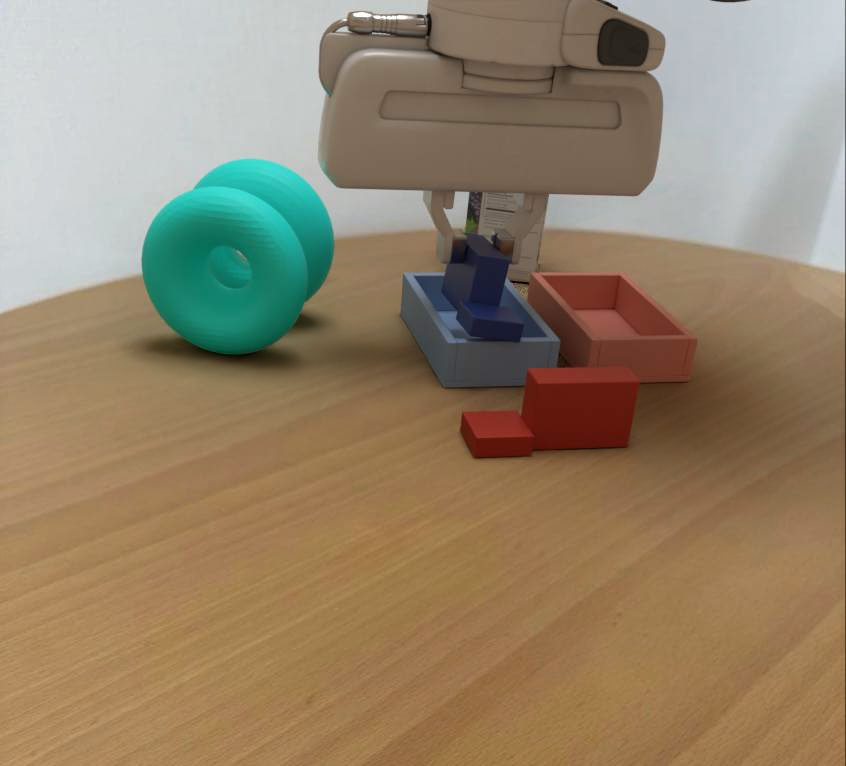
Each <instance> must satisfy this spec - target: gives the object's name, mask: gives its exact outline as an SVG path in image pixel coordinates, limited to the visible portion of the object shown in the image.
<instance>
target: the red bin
mask: <svg viewBox="0 0 846 766" xmlns="http://www.w3.org/2000/svg"><path fill="white" fill-rule="evenodd" d="M526 301H527V302H528V303H529V304H530V306H531V307H532V308H533V309H534V310H535V311H536V313H537V314H538V315H539V316H540V317H541V318H542V320H543V321H544V322H545V323H546V324H547V325H548V327H549V328H550V329H551V330H552V331H553V333H554V334H555V335H556V336H557V337H558V338H559V340H560V348H559V354H560V356H561V357H562V358H563V360H564V361H565V362H566V363H567V364H568V365H569V367H570V368H575V367H628V368H629V369H630V371H631V372H632V373H633V374H634V375H635V376H636V377H637V378H638V379H639V381H640V384H643V383H645V384H646V383H679V382H680V383H682V382H690V380H691V374H692V368H693V365H694V359H695V355H696V351H697V346H698V341H699V338H698V337H697V336H696V335H695V334H694V333H692V332H691V330H689V329H688V328H687V327H686V326H685V325H684V324H683V323H682V322H680V321H679V320H678V319H677V318H676V317H675V316H673V314H672V313H671V312H670V311H668V310H667V309H666V308H665V307H664V306H662V304H661V303H659V301H657V300H656V299H655V298H654V297H653V296H652V295H651V294H649V292H647V291H646V290H645V289H644V288H643V287H641V285H639V284H638V283H637V282H636V281H635V280H633V278H632V277H630V276H629V275H628V274H627V273H626V272H620V271H619V272H617V271H616V272H615V271H614V272H611V271H609V272H603V271H601V272H600V271H599V272H597V271H596V272H594V271H593V272H583V271H581V272H575V271H574V272H573V271H571V272H567V271H566V272H561V271H560V272H537V273H531V274H530V281H529V282H528V290H527V297H526Z"/></svg>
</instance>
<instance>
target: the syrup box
mask: <svg viewBox="0 0 846 766" xmlns="http://www.w3.org/2000/svg"><path fill="white" fill-rule="evenodd" d="M513 194H514V193H491V192H468V200H467V201H468V203H467V209H466V219H465V227H464V233H470V234H476V235H482V236H484V237H485V238H486V239H487V240H488V241H489V242H491V243H492V241H491V234H492V229H504V228H505V227H506V225H507V224H508V222H509V221H510V219H511V218H512V216H513V215H514V213H515V211H516V210H517V208H518V207H519V205H518V204H517V203H516V202H515V201H514V200H513ZM549 198H550V194H547V196H546V202H545V209H544V213H543V214H542V215H541V217H540V218H539V219H538V221H537V222H536V223H535V225H534V226H533V228H532V229H531V230H530V232H529V233H528V234H527V236H526V237H525V238H523V239H522V246H521V254H520V260H519V263H518V264H517V265H509V268H508V272H507V276H506V277H507V279H508V280H509V281H512V282H513V281H514V282H522V283H523V282H524V283H529V281H530V274H531V273H538V267H539V261H540V258H541V257H540V256H541V251H542V244H543V239H544V231H545V226H546V225H545V224H546V218H547V211H548V205H549ZM492 244H493V243H492Z"/></svg>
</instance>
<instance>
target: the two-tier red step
mask: <svg viewBox="0 0 846 766" xmlns="http://www.w3.org/2000/svg"><path fill="white" fill-rule="evenodd" d="M640 384H641V383H640V381H639V379H638V378H637V377H636V376H635V375H634V374H633V373H632V372H631V371H630V369H629V368H628V367H575V368H571V367H557V368H528V369H527V376H526V383H525V386H524V390H523V399H522V405H521V414H520V412H519V410H517V409H515V410H514V409H513V410H509V409H508V410H474V411H472V410H471V411H467V410H466V411H462V412H461V419H460V428H459V431H460V433H461V435H462V436H463V439H464V441H465V442H466V444H467V447H468V448H469V451H471V454H472V455H473V457H474V458H498V457H501V458H502V457H525V456H527V457H531V456H532V453H533V451H540V450H541V451H543V450H570V449H572V450H573V449H600V448H601V449H602V448H627V447H628V446H629V441H630V437H631V431H632V426H633V421H634V415H635V410H636V405H637V400H638V395H639V389H640Z"/></svg>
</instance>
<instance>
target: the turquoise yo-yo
mask: <svg viewBox="0 0 846 766" xmlns="http://www.w3.org/2000/svg"><path fill="white" fill-rule="evenodd" d="M334 236H335V235H334V228H333V224H332V219H331V217H330V214H329V211H328V209H327V207H326V205H325V203H324V202H323V200H322V198H321V197H320V195H319V194H318V193H317V191H316V190H315V189H314V187H313V186H312V185H311V184H310V183H309V182H308V181H307V180H306V179H304V178H303V177H302V176H301V175H300V174H298V173H296V172H295V171H294V170H292V169H290V168H288V167H287V166H285V165H283V164H280V163H278V162H274V161H271V160H267V159H261V158H240V159H233V160H231V161H226V162H225V163H222V164H220V165H218V166H216V167H215V168H213V169H212V170H210V171H209V172H207V173H206V174H205V175H204V176H202V177H201V179H199V180H198V182H197V183H196V184H195V186H193V189H191V190H188V191H186V192H183V193H181V194H179V195H177V196H176V197H174V198H173V199H171V200H170V201H169V202H168V203H166V204H165V205H164V206H163V207H162V208H161V209H160V210H159V211H158V212H157V214H156V215H155V216H154V218H153V219H152V221H151V223H150V225H149V227H148V229H147V231H146V234H145V236H144V240H143V244H142V250H141V273H142V278H143V279H142V280H143V283H144V286H145V290H146V293H147V295H148V298H149V299H150V302H151V303H152V306H153V307H154V309H155V310H156V312H157V313H158V315H159V316H160V318H161V319H162V320H163V321H164V322H165V324H166V325H167V326H168V327H169V328H170V329H171V330H172V331H173V332H175V333H176V334H177V335H178V336H180V337H181V338H183V339H184V340H185V341H187V342H189V343H191V344H192V345H194V346H196V347H198V348H202V349H203V350H205V351H208V352H212V353H216V354H222V355H232V356H233V355H246V354H251V353H256V352H258V351H261V350H264V349H266V348H268V347H270V346H272V345H273V344H275V343H276V342H278V341H280V339H282V338H283V337H284V336H285V335H287V334H288V332H289V331H290V330H291V329H292V327H293V326H294V325H295V323H296V322H297V320H298V319H299V317H300V315H301V313H302V311H303V308H304V306H305V304H306V303H307V302H308V301H310V300H311V299H312V298H313V297H314V296H315V295H316V294H317V293H318V291H319V290H320V289H321V287H322V286H323V284H324V283H325V281H326V280H327V278H328V275H329V273H330V270H331V269H332V268H331V267H332V265H333V260H334V255H335V254H334V253H335V237H334Z"/></svg>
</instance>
